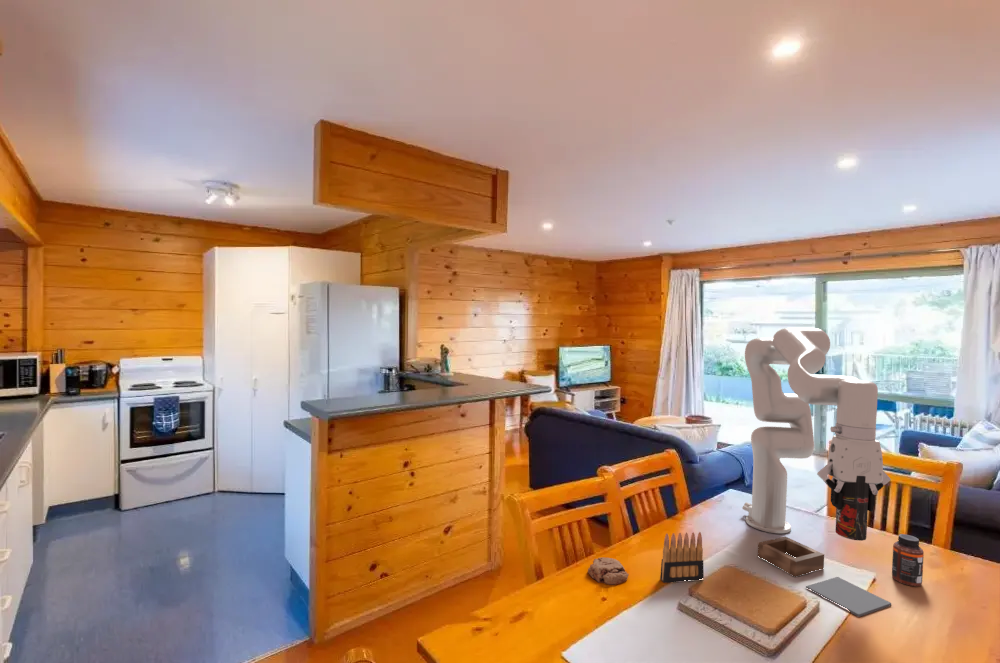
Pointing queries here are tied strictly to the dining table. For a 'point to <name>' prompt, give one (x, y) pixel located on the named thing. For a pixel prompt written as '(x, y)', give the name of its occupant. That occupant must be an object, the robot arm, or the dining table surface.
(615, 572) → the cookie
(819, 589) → the mat
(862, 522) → the deodorant
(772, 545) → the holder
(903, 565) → the supplement bottle
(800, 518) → the dining table surface
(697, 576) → the ammunition clip
